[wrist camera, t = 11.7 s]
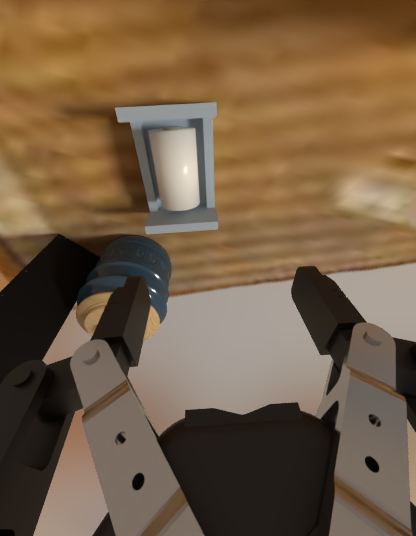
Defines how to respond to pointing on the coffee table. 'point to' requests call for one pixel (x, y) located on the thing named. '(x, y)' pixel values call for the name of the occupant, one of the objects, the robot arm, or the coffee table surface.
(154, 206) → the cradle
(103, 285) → the canister
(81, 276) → the long black block
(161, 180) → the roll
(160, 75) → the coffee table surface
